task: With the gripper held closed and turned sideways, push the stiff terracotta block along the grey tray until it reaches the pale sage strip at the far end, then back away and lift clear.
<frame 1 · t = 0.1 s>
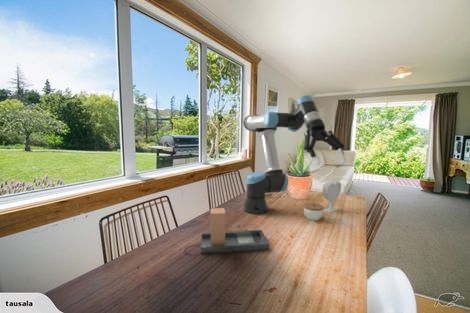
hand: (331, 163, 91), 36 cm above the table, tool tilted 35°, fingers open, 13 cm apart
terracotta block: (217, 226, 93), point 8 cm above the table, slide at 0.0 cm
lidded jar: (312, 219, 123), on the table
heart sculpture: (330, 209, 138), on the table
grey tray: (233, 243, 94), on the table
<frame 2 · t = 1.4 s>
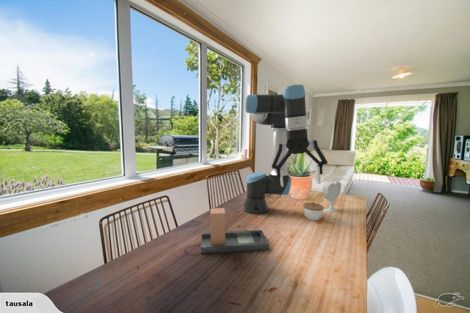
hand: (300, 184, 83), 29 cm above the table, tool pointing down, fingers open, 13 cm apart
nothing on the table moved.
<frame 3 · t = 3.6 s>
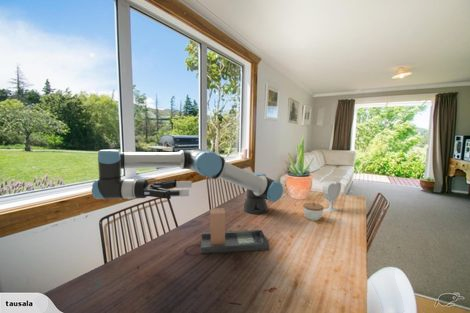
hand: (190, 188, 89), 25 cm above the table, tool horizontal, fingers open, 13 cm apart
nothing on the table moved.
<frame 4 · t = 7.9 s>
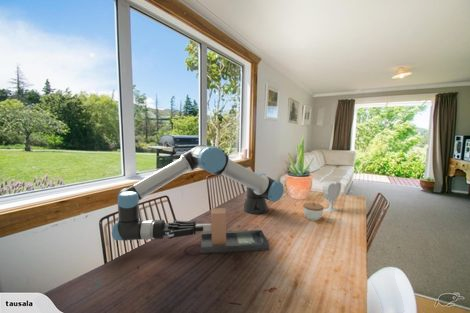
hand: (211, 227, 92), 8 cm above the table, tool horizontal, fingers closed
terracotta block: (218, 226, 93), point 8 cm above the table, slide at 0.4 cm, touching gripper
everything else where it was.
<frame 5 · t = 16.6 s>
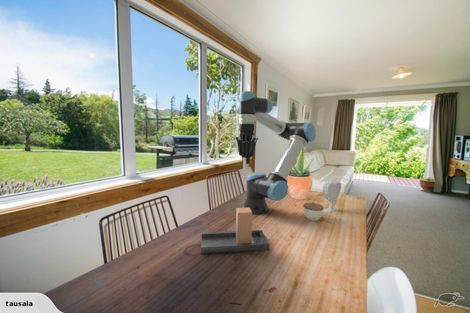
hand: (245, 169, 110), 29 cm above the table, tool pointing down, fingers closed
terracotta block: (243, 225, 94), point 8 cm above the table, slide at 11.3 cm
everything else where it was.
at the end: terracotta block slide at 11.3 cm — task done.
